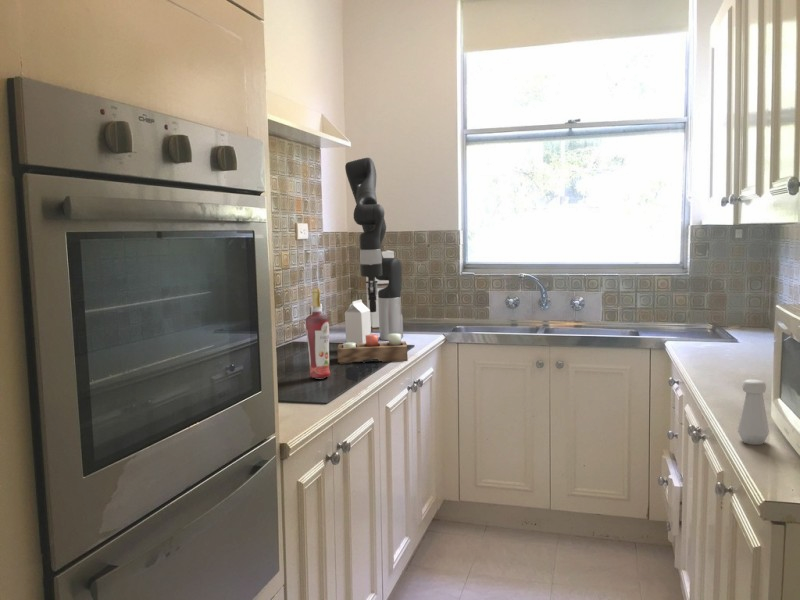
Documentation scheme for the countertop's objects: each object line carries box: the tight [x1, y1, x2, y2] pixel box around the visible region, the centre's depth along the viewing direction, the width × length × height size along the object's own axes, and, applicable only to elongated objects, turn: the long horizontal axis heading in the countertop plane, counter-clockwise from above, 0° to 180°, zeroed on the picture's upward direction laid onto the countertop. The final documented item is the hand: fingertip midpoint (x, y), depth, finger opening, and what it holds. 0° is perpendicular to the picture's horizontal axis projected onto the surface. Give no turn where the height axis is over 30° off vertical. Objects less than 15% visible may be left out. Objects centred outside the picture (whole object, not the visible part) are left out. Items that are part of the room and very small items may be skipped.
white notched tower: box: [365, 249, 395, 333], centre depth 305 cm, size 11×11×35 cm
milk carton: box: [344, 299, 372, 343], centre depth 257 cm, size 7×7×19 cm
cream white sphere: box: [388, 333, 402, 345], centre depth 241 cm, size 4×4×4 cm
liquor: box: [305, 288, 332, 379], centre depth 213 cm, size 7×7×28 cm
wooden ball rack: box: [337, 340, 409, 363], centre depth 241 cm, size 24×10×5 cm, turn 93°
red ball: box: [366, 333, 379, 346], centre depth 240 cm, size 4×4×4 cm
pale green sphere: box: [342, 342, 356, 348], centre depth 240 cm, size 4×4×4 cm
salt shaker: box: [737, 378, 770, 446], centre depth 141 cm, size 6×6×13 cm
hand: (373, 311), depth 239 cm, fingers closed
